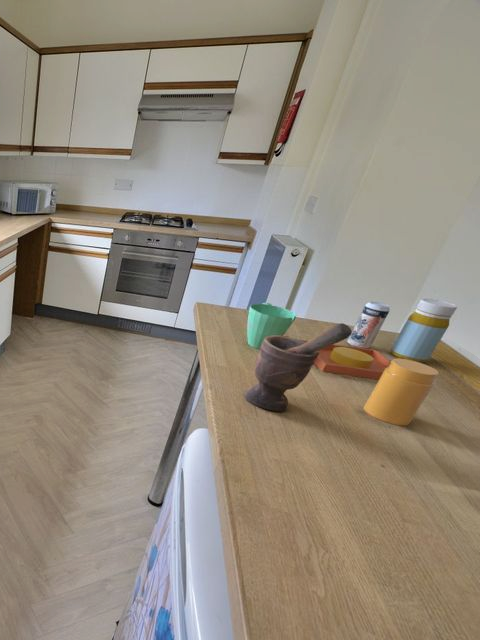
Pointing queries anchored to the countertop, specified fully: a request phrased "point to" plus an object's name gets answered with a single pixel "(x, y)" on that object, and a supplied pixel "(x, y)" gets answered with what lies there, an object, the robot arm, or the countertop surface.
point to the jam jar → (400, 391)
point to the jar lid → (351, 357)
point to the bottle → (423, 330)
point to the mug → (267, 322)
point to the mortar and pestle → (287, 365)
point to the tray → (372, 372)
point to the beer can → (368, 324)
